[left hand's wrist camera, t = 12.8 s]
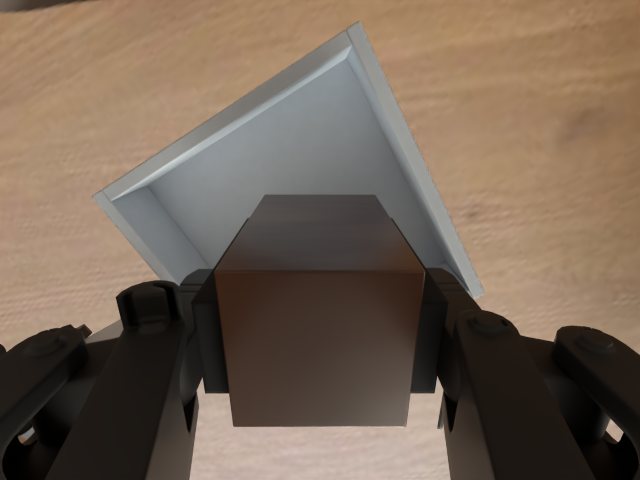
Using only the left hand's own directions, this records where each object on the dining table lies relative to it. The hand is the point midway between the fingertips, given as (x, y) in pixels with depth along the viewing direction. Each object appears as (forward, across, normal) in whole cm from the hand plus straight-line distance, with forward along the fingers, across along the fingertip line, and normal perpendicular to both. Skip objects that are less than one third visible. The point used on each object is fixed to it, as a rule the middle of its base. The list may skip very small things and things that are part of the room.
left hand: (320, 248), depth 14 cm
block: (0, 0, 0) cm, 0 cm away
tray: (+5, +6, +4) cm, 9 cm away
